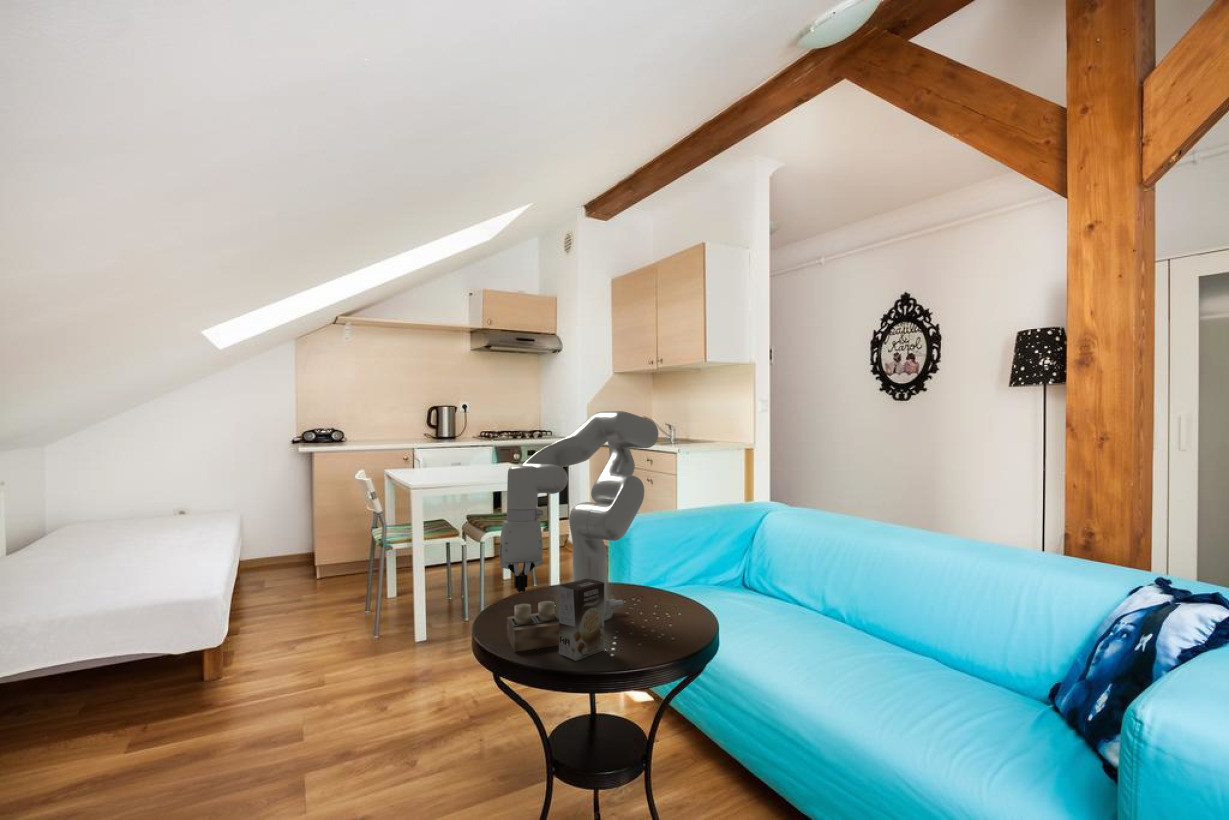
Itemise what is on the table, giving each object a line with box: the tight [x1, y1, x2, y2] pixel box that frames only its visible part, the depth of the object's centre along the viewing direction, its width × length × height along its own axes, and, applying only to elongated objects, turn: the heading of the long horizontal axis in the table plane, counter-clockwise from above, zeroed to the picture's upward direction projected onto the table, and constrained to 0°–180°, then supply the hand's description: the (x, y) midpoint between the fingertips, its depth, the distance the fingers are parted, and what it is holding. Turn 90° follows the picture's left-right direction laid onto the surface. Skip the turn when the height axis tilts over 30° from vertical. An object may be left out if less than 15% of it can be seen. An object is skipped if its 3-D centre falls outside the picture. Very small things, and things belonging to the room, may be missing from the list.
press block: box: [506, 612, 559, 653], centre depth 141 cm, size 12×10×5 cm
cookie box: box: [558, 579, 605, 662], centre depth 134 cm, size 9×6×16 cm
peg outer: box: [514, 603, 532, 625], centre depth 140 cm, size 4×4×4 cm
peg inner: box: [537, 600, 556, 622], centre depth 142 cm, size 4×4×4 cm
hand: (520, 590), depth 139 cm, fingers closed
